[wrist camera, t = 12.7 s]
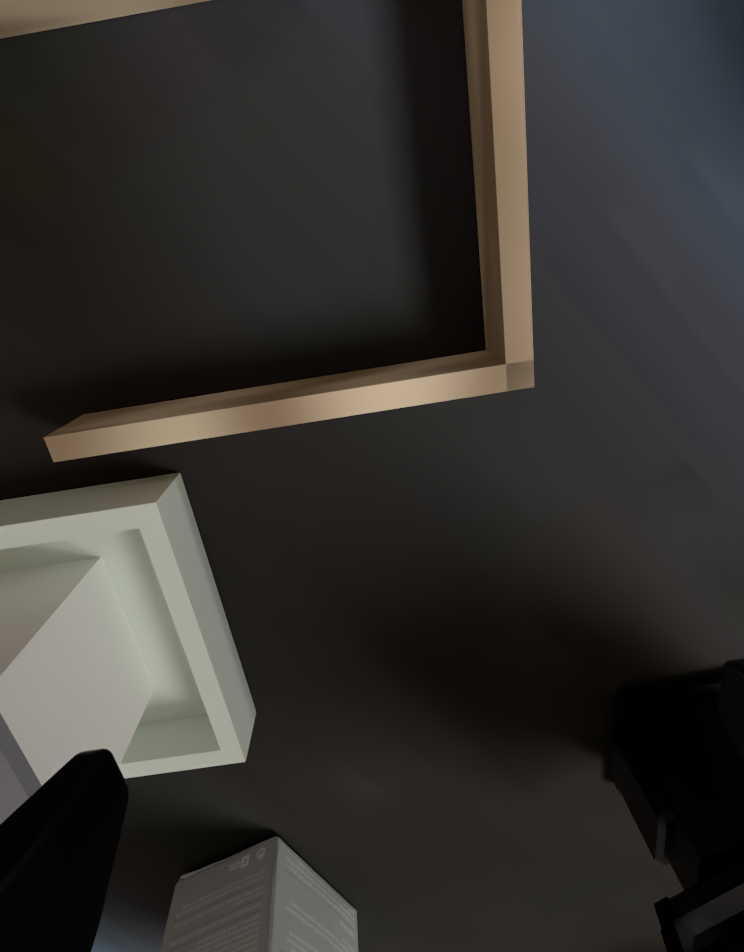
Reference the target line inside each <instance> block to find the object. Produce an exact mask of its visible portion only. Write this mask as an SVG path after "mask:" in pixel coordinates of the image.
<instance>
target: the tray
mask: <svg viewBox="0 0 744 952" xmlns="http://www.w3.org/2000/svg"><path fill="white" fill-rule="evenodd" d="M97 557H101V558H102V561H103V563H104V566H105V568H106V570H107V573H108V575H109V578H110V580H111V583H112V585H113V587H114V590H115V592H116V595H117V597H118V600H119V602H120V605H121V607H122V609H123V612H124V614H125V617H126V619H127V622H128V624H129V626H130V629H131V631H132V634H133V636H134V639H135V641H136V644H137V646H138V648H139V651H140V653H141V656H142V658H143V661H144V663H145V665H146V668H147V670H148V673H149V675H150V678H151V680H152V682H153V685H154V687H155V689H154V691H153V693H152V696H151V698H150V700H149V702H148V704H147V706H146V709H145V711H144V713H143V715H142V717H141V719H140V722H139V724H138V726H137V728H136V730H135V732H134V735H133V737H132V739H131V741H130V743H129V745H128V748H127V750H126V752H125V754H124V756H123V758H122V760H121V763H120V765H119V768H120V770H121V773H122V775H123V777H124V779H125V778H132V777H139V776H146V775H153V774H161V773H168V772H175V771H182V770H190V769H197V768H204V767H211V766H219V765H226V764H233V763H240V762H246V757H247V753H248V748H249V743H250V739H251V734H252V729H253V725H254V720H255V716H256V709H255V706H254V703H253V700H252V697H251V694H250V691H249V687H248V684H247V681H246V678H245V675H244V672H243V669H242V665H241V662H240V659H239V656H238V653H237V650H236V647H235V643H234V640H233V637H232V634H231V631H230V628H229V625H228V621H227V618H226V615H225V612H224V609H223V606H222V603H221V599H220V596H219V593H218V590H217V587H216V584H215V581H214V577H213V574H212V571H211V568H210V565H209V562H208V559H207V555H206V552H205V549H204V546H203V543H202V540H201V537H200V533H199V530H198V527H197V524H196V521H195V518H194V515H193V511H192V508H191V505H190V502H189V499H188V496H187V493H186V489H185V486H184V483H183V480H182V477H181V474H180V473H174V474H167V475H161V476H154V477H148V478H141V479H135V480H129V481H122V482H116V483H109V484H103V485H96V486H90V487H83V488H77V489H71V490H64V491H58V492H51V493H45V494H38V495H32V496H26V497H19V498H13V499H6V500H0V572H5V571H12V570H19V569H25V568H32V567H38V566H45V565H51V564H58V563H64V562H71V561H78V560H84V559H91V558H97Z"/></svg>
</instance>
